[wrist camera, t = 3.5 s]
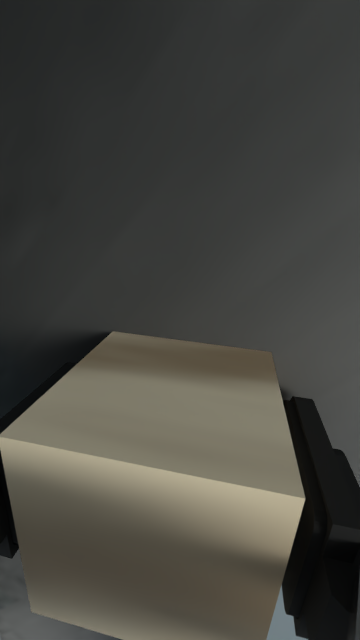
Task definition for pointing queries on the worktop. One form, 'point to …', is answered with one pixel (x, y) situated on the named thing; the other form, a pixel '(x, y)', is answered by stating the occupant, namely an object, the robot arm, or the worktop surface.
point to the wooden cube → (157, 491)
